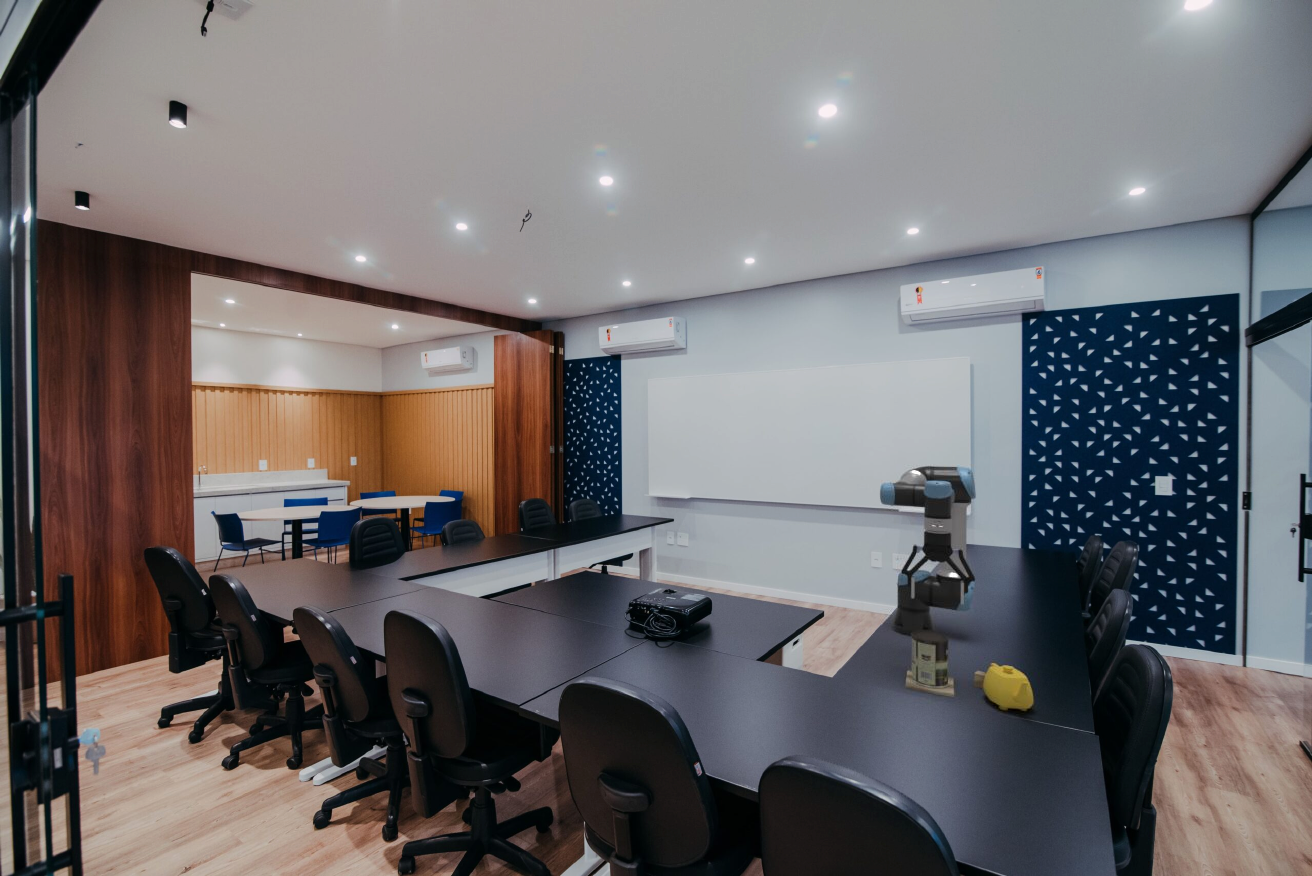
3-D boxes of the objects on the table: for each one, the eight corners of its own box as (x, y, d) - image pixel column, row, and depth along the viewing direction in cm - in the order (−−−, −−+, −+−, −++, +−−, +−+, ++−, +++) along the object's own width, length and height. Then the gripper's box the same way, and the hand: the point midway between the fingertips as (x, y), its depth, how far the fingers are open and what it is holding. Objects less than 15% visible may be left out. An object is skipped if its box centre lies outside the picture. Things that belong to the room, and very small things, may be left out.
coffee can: (942, 676, 177) (942, 631, 177) (952, 690, 167) (953, 642, 167) (907, 673, 179) (907, 628, 179) (915, 687, 169) (915, 640, 169)
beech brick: (974, 686, 172) (974, 673, 172) (977, 683, 174) (977, 670, 174) (996, 692, 168) (996, 679, 168) (999, 689, 170) (999, 676, 170)
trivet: (907, 672, 182) (907, 669, 182) (953, 680, 176) (953, 677, 176) (905, 688, 170) (905, 685, 170) (954, 697, 164) (954, 694, 164)
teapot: (1049, 722, 150) (1050, 681, 150) (1007, 720, 151) (1007, 680, 151) (1010, 691, 168) (1010, 655, 168) (972, 690, 169) (972, 654, 169)
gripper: (892, 529, 176) (892, 597, 176) (985, 536, 165) (984, 609, 165) (894, 526, 183) (894, 591, 183) (983, 532, 171) (983, 602, 171)
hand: (937, 600), depth 174 cm, fingers open, 13 cm apart
